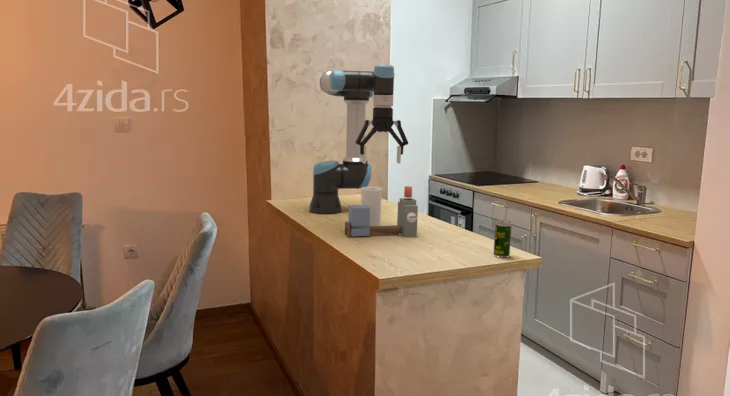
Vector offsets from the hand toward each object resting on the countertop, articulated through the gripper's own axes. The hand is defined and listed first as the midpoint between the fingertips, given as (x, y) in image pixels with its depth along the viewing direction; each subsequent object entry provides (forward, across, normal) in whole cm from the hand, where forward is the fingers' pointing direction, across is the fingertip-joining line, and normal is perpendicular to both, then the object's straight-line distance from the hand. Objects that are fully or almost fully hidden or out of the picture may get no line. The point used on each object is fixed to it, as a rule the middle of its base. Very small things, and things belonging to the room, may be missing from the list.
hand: (381, 163), depth 213 cm
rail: (+28, -3, 0) cm, 28 cm away
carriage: (+28, -8, 0) cm, 29 cm away
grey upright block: (+28, +11, 0) cm, 30 cm away
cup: (+28, 0, +15) cm, 32 cm away
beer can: (+28, +34, -36) cm, 57 cm away
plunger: (+13, +11, 0) cm, 17 cm away
